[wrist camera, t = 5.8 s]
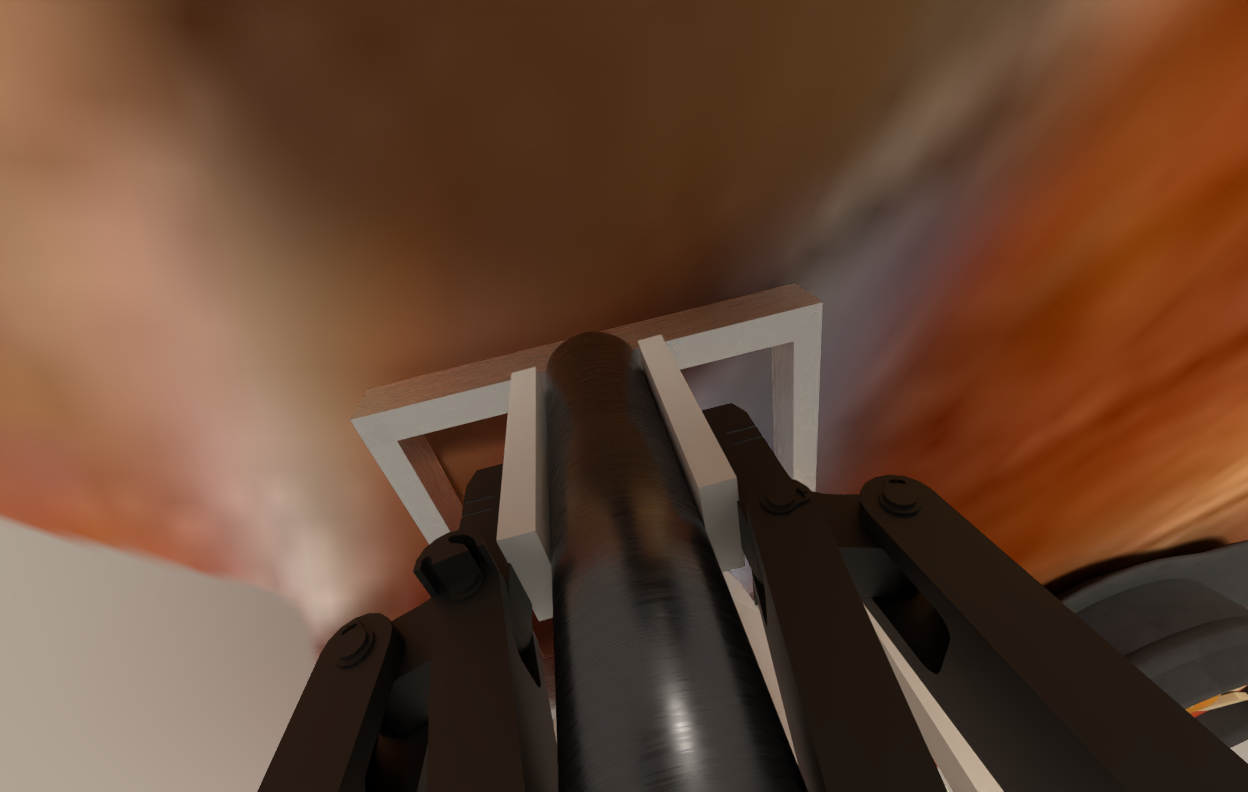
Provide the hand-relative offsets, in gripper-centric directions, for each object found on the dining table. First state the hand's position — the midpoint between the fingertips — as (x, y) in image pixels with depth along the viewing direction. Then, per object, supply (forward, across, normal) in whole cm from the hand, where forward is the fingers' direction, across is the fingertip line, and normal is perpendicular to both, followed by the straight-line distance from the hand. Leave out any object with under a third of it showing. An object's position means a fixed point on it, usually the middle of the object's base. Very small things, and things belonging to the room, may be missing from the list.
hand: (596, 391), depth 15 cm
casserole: (+4, +32, -34) cm, 47 cm away
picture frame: (+3, 0, -9) cm, 9 cm away
